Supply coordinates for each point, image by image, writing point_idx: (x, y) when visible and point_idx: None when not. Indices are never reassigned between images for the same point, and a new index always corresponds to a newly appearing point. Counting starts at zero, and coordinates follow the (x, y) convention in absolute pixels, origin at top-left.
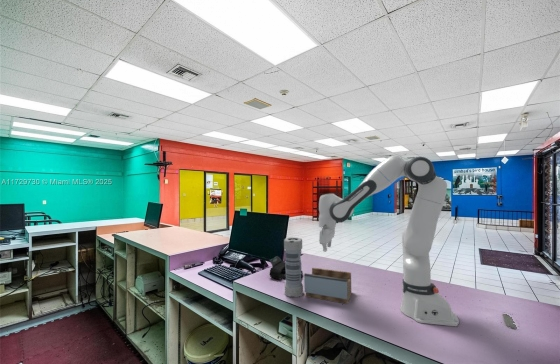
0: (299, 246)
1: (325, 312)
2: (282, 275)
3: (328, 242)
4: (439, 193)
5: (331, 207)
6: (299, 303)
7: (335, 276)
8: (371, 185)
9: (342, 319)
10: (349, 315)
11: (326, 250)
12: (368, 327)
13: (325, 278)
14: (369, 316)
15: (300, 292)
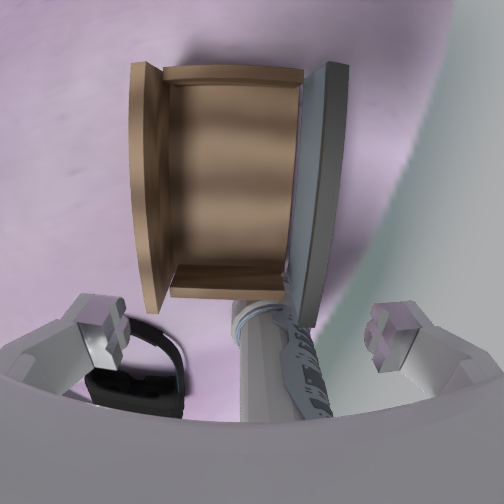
0: None
1: (385, 165)
2: (179, 382)
3: (75, 369)
4: None
5: None
6: (342, 268)
7: (154, 161)
8: None
9: (411, 106)
10: (381, 79)
11: (417, 307)
12: (423, 35)
13: (335, 202)
14: (362, 15)
15: (289, 290)
